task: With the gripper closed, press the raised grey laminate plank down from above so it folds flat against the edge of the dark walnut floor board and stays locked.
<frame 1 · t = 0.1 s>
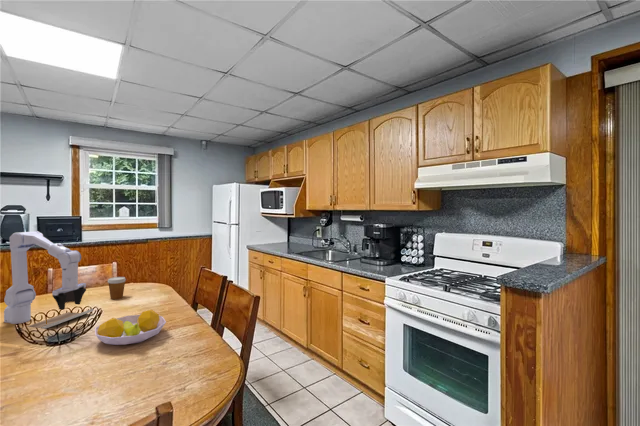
hand: (69, 306, 145), 10 cm above the table, fingers open, 7 cm apart
disposable coffee cup: (116, 298, 192), on the table
grey plank: (68, 318, 151), point 2 cm above the table, hinge at 22.0°
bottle: (70, 302, 183), on the table
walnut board: (54, 321, 152), on the table
fruit bowl: (130, 339, 135), on the table
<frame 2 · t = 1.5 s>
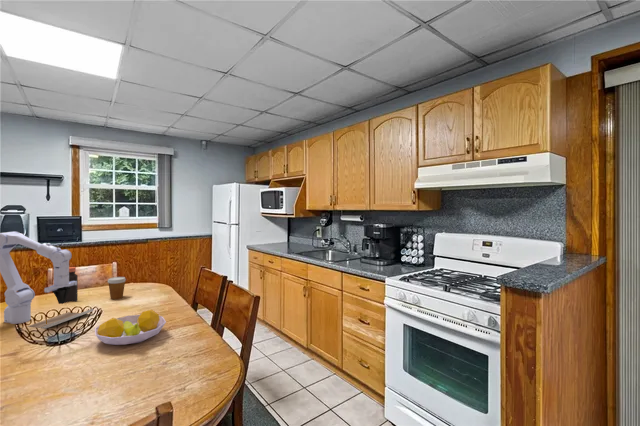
hand: (61, 303, 152), 9 cm above the table, fingers closed
nothing on the table moved.
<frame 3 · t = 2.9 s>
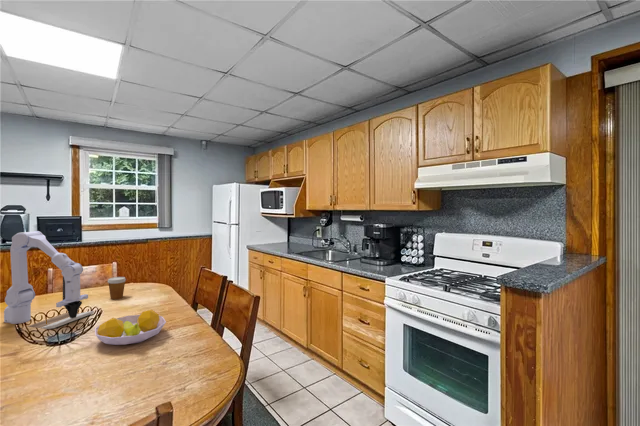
hand: (73, 317, 151), 3 cm above the table, fingers closed, pressing on grey plank
grey plank: (68, 319, 151), point 2 cm above the table, hinge at 13.8°, touching gripper
everything else where it was.
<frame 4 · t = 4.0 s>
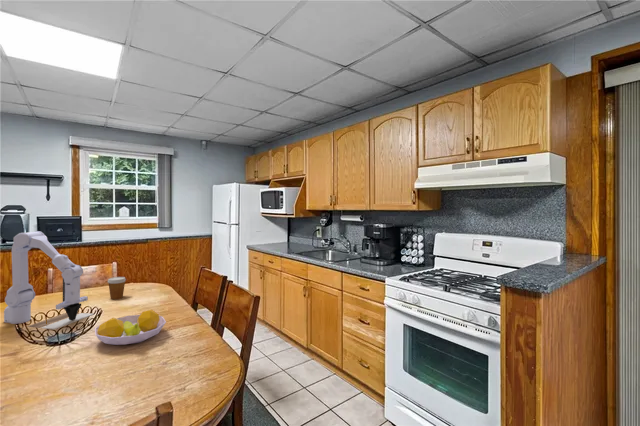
hand: (72, 319, 151), 2 cm above the table, fingers closed
grey plank: (68, 321, 151), point 1 cm above the table, hinge at 2.9°
everything else where it was.
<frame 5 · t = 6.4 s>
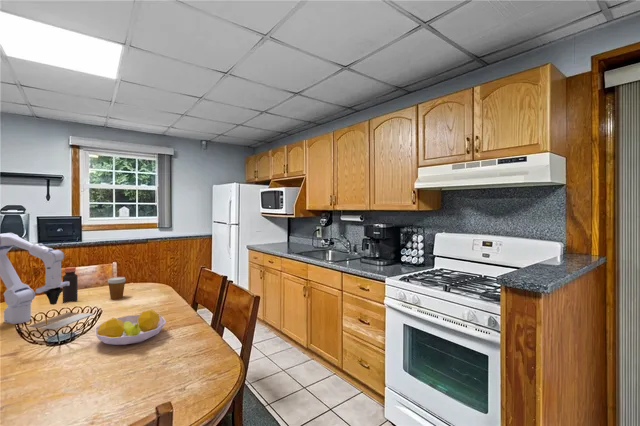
hand: (53, 304, 150), 9 cm above the table, fingers closed
nothing on the table moved.
at the end: grey plank at +3° (first picture: +22°) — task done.
